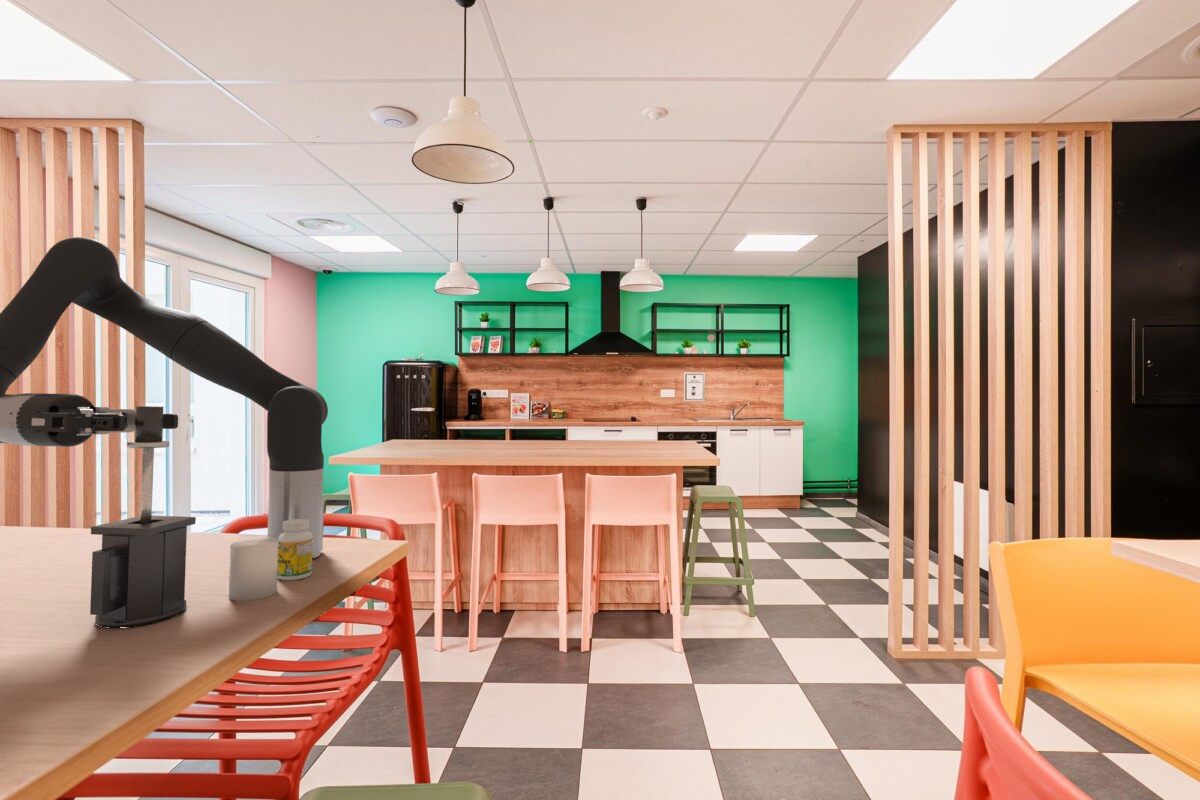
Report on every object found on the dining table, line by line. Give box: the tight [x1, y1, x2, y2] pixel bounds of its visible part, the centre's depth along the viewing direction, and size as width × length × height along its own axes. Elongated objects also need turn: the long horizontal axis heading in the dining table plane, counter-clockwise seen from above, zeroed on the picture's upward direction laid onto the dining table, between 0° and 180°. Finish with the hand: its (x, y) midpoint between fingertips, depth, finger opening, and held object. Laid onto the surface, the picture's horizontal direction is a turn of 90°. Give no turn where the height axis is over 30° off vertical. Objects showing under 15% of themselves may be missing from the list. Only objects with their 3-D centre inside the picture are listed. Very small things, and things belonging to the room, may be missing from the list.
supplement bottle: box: [277, 519, 313, 581], centre depth 95 cm, size 5×5×10 cm
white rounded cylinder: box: [228, 537, 278, 602], centre depth 86 cm, size 6×6×8 cm
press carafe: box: [89, 515, 197, 628], centre depth 76 cm, size 12×10×13 cm
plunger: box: [126, 405, 170, 524], centre depth 77 cm, size 5×5×21 cm
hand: (151, 422), depth 77 cm, fingers open, 8 cm apart
